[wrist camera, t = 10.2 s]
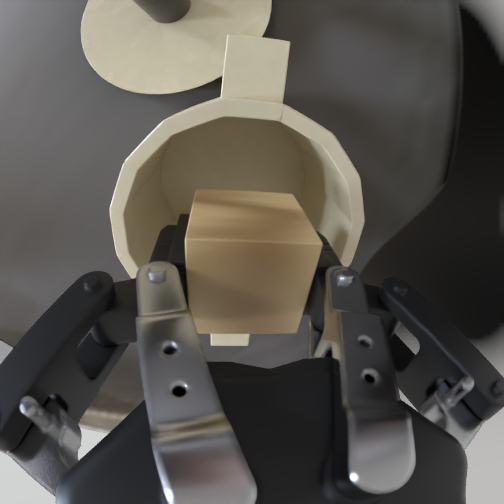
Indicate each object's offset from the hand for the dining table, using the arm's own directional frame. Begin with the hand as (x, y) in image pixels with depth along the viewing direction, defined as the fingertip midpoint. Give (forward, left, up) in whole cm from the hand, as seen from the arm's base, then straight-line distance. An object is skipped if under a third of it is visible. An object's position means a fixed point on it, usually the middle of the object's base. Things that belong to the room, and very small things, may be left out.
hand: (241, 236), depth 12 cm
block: (0, 0, 0) cm, 0 cm away
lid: (-5, +12, -8) cm, 15 cm away
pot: (0, 0, -8) cm, 8 cm away
